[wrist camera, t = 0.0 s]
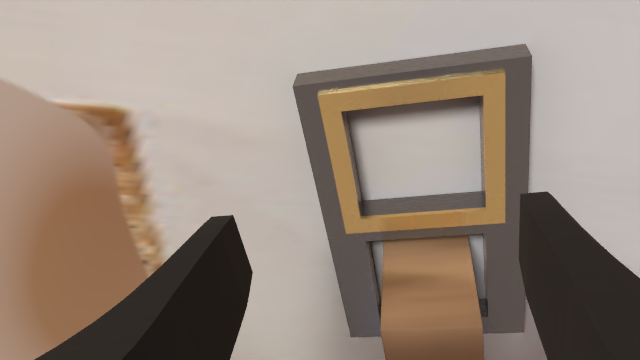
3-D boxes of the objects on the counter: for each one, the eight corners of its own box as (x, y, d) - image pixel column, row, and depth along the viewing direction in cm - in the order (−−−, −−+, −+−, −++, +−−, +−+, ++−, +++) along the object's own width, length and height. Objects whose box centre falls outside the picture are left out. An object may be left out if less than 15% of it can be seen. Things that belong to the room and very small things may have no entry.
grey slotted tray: (519, 314, 29) (524, 335, 27) (352, 320, 30) (350, 340, 29) (525, 43, 20) (532, 57, 19) (297, 74, 22) (291, 88, 21)
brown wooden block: (469, 288, 28) (484, 390, 23) (392, 292, 29) (391, 390, 24) (466, 229, 26) (482, 327, 21) (383, 235, 27) (380, 330, 22)
